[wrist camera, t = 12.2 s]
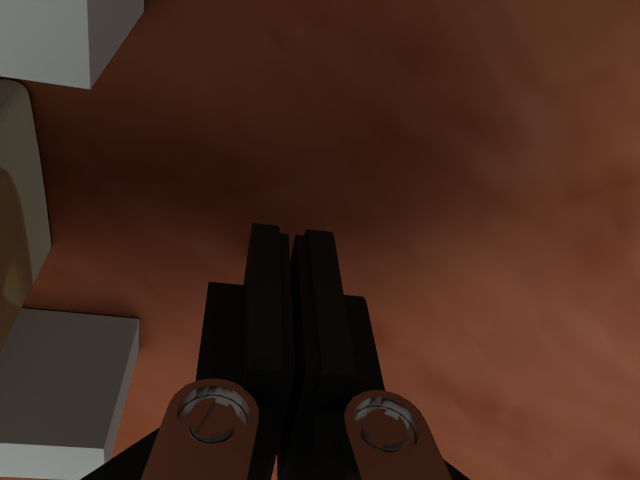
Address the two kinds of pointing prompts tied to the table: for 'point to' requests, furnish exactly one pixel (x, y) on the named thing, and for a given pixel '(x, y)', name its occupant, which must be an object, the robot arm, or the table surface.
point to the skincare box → (19, 204)
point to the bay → (52, 326)
